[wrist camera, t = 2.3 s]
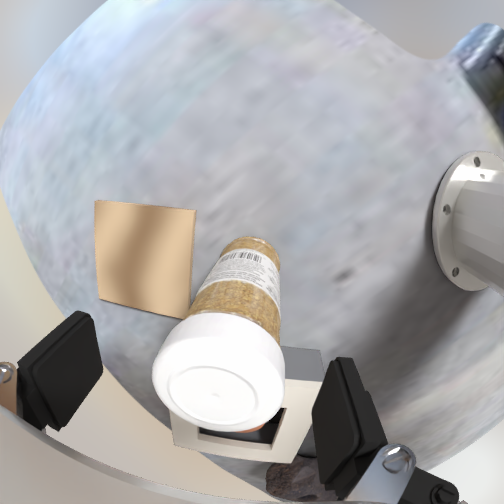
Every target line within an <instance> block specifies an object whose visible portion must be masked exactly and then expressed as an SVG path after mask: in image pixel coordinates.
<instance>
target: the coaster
mask: <svg viewBox="0 0 504 504" xmlns="http://www.w3.org/2000/svg"><path fill="white" fill-rule="evenodd" d="M195 221H196V210H189V209H180V208H172V207H163V206H154V205H144V204H134V203H124V202H113V201H102V200H97V201H95V255H96V271H97V282H98V292H99V299H103V300H107V301H110V302H114V303H118V304H121V305H125V306H129V307H133V308H137V309H141V310H145V311H149V312H154V313H158V314H162V315H167V316H171V317H176V318H181V319H184V318H185V316H186V314H187V312H188V310H189V309H190V303H191V280H192V262H193V247H194V233H195Z"/></svg>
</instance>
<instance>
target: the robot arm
mask: <svg viewBox="0 0 504 504" xmlns="http://www.w3.org/2000/svg"><path fill="white" fill-rule="evenodd" d="M432 239H433V245H434V251H435V255H436V258H437V261H438V264H439V266H440V268H441V269H442V271H443V273H444V274H445V276H446V277H447V278H448V279H449V280H450V281H451V282H453V283H454V284H455V285H457V286H458V287H460V288H462V289H464V290H469V291H477V290H482V289H484V288H486V287H490V288H492V289H493V290H495V291H496V292H497V293H499V294H500V295H502V296H503V297H504V160H502V159H501V158H500V157H499V156H497V155H495V154H493V153H490V152H485V151H476V152H469V153H467V154H465V155H462V156H461V157H460V158H459V159H457V160H456V161H455V162H454V163H453V164H452V166H451V167H450V168H449V169H448V170H447V172H446V174H445V176H444V178H443V180H442V182H441V184H440V187H439V190H438V193H437V195H436V200H435V205H434V209H433V220H432ZM17 363H18V366H19V368H18V369H16V367H15V366H14V365H13V364H11V363H9V362H0V504H468V503H466V502H465V501H464V500H463V501H461V502H460V501H459V492H458V490H457V488H456V487H455V486H454V485H453V484H452V483H450V482H448V481H446V480H443V479H441V478H439V477H436V476H434V475H432V474H430V473H428V472H426V471H424V470H421V469H419V468H417V467H415V466H416V457H415V455H414V453H413V452H412V451H411V450H410V449H409V448H408V447H406V446H404V445H401V444H389V445H388V442H387V439H386V436H385V433H384V431H383V428H382V425H381V422H380V420H379V417H378V414H377V412H376V409H375V406H374V404H373V401H372V398H371V396H370V394H369V392H368V391H365V389H364V387H363V384H362V382H361V379H360V376H359V374H358V371H357V369H356V366H355V364H354V361H353V359H352V358H345V357H337V358H336V359H335V361H331V362H330V364H329V367H328V369H327V372H326V375H325V377H324V380H323V382H322V385H321V388H320V390H319V393H318V395H317V397H316V400H315V402H314V405H313V407H312V412H311V416H312V423H313V431H314V438H315V446H316V454H317V462H318V471H319V480H320V483H321V484H324V485H325V491H329V490H335V495H336V496H337V498H336V499H335V500H334V501H330V502H269V501H253V500H242V499H233V498H226V497H219V496H213V495H207V494H202V493H196V492H191V491H187V490H183V489H178V488H174V487H170V486H167V485H163V484H159V483H155V482H153V481H149V480H146V479H143V478H140V477H137V476H134V475H131V474H128V473H125V472H123V471H120V470H118V469H115V468H113V467H110V466H108V465H106V464H103V463H101V462H99V461H96V460H94V459H92V458H90V457H87V456H85V455H83V454H81V453H79V452H77V451H75V450H73V449H71V448H70V447H68V446H66V445H64V444H62V443H60V442H58V441H56V440H55V439H53V438H52V437H50V436H48V435H47V434H46V429H45V427H46V425H47V424H48V425H49V426H50V427H51V428H53V429H55V430H57V431H59V430H60V429H61V428H62V427H65V426H66V425H67V424H68V422H69V421H70V419H71V418H72V416H73V415H74V413H75V412H76V410H77V409H78V408H79V406H80V405H81V403H82V402H83V401H84V399H85V398H86V396H87V395H88V394H89V392H90V391H91V389H92V388H93V387H94V385H95V384H96V382H97V381H98V380H99V378H100V377H101V375H102V373H103V365H102V361H101V356H100V352H99V347H98V342H97V337H96V331H95V326H94V321H93V319H92V318H91V316H90V314H88V313H85V312H81V311H75V312H74V313H73V314H72V315H70V316H69V317H68V318H67V319H66V320H64V321H63V322H62V323H61V324H60V325H58V326H57V327H56V328H55V329H54V330H53V331H51V332H50V333H49V334H48V335H47V336H46V337H45V338H43V339H42V340H41V341H40V342H39V343H38V344H37V345H36V346H35V347H33V348H32V349H31V350H30V351H29V352H28V353H27V354H26V355H25V356H23V357H22V358H21V359H20V360H19V361H18V362H17Z"/></svg>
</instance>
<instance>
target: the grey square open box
mask: <svg viewBox="0 0 504 504" xmlns="http://www.w3.org/2000/svg"><path fill="white" fill-rule="evenodd" d="M280 347H281V351H282V354H283V358H284V362H285V395H284V400H283V403H282V405H281V408H285V409H284V411H283V414H282V417H281V420H280V423H279V424H274V423H265V424H264V425H263V427H262V428H260V429H258V430H256V431H253V432H248V433H239V432H224V431H215V430H209V429H206V428H202V427H199V426H197V425H194V424H192V423H190V422H187V421H186V420H184V419H182V418H180V417H179V416H177V415H176V414H175V413H173V412H172V411H171V410H170V409H169V412H170V420H171V427H172V434H173V441H174V445H176V446H180V447H183V448H188V449H192V450H196V451H200V452H205V453H210V454H215V455H220V456H226V457H232V458H239V459H246V460H255V461H264V462H276V463H292V461H293V459H294V457H295V455H296V453H297V452H298V450H299V448H300V446H301V444H302V442H303V440H304V438H305V436H306V434H307V432H308V430H309V428H310V426H311V424H312V416H311V412H312V407H313V405H314V402H315V400H316V397H317V395H318V393H319V390H320V388H321V385H322V382H323V380H324V377H325V374H324V369H323V364H322V359H321V354H320V350H311V349H301V348H292V347H284V346H280Z"/></svg>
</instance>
